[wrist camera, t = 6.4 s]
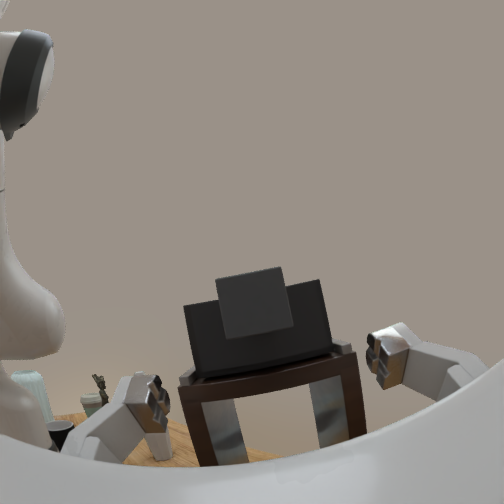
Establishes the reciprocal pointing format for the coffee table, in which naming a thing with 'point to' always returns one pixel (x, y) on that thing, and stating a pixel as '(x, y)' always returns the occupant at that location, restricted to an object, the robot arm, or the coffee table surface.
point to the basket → (257, 324)
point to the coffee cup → (91, 403)
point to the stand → (268, 380)
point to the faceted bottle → (158, 440)
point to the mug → (59, 431)
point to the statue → (101, 388)
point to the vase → (35, 390)
